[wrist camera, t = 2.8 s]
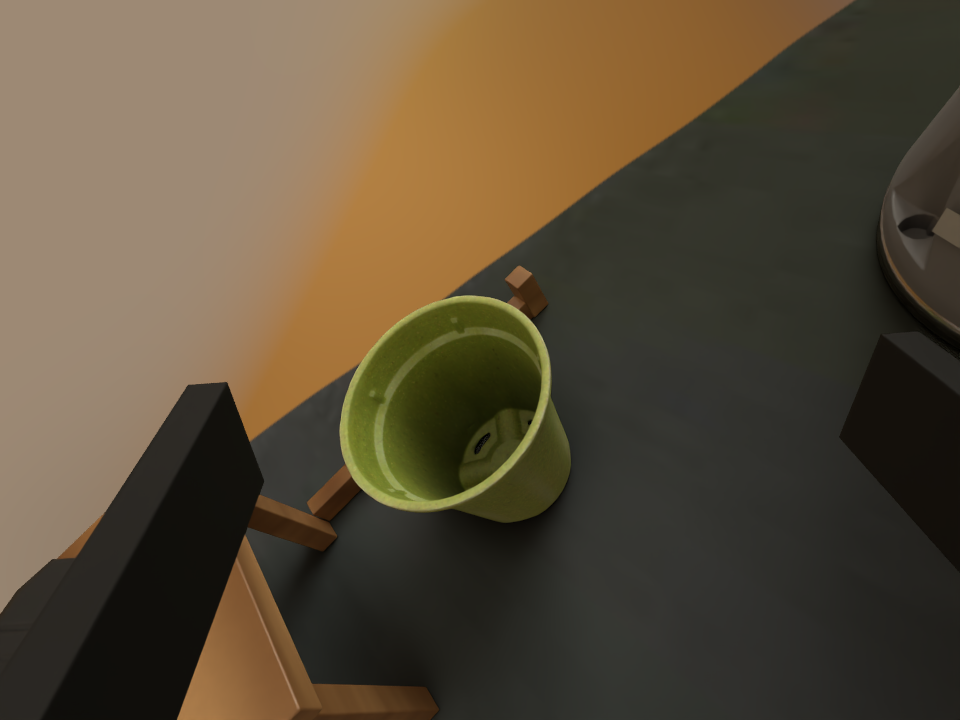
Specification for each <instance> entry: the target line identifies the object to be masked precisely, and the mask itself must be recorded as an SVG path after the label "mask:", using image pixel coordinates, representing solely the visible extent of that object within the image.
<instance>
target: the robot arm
mask: <svg viewBox="0 0 960 720" xmlns="http://www.w3.org/2000/svg"><path fill="white" fill-rule="evenodd" d="M876 242H877V252H878V257H879V261H880V265H881V268H882V270H883V273H884V275H885V278H886V280H887V281H888V283H889V285H890V287H891V288H892V290H893V292H894V293H895V295H896V296H897V297H898V299H899V300H900V301H901V303H902V304H903V305H904V306H905V307H906V308H907V309H908V310H909V312H910V313H911V314H912V315H913V316H914V317H915V318H916V319H918V320H919V321H920V322H921V323H922V324H923V325H924V326H926V327H927V328H928V329H929V330H930V331H932V332H933V333H935V334H936V335H937V336H939V337H940V338H942V339H943V340H944V341H946V342H948V343H949V344H951V345H953V346H954V347H956V348H957V349H959V350H960V87H959V88H958V89H957V90H956V92H955V93H954V94H953V95H952V97H951V98H950V99H949V100H948V102H947V103H946V104H945V106H944V107H943V108H942V109H941V111H940V112H939V113H938V114H937V116H936V117H935V118H934V119H933V121H932V122H931V123H930V124H929V126H928V127H927V128H926V129H925V131H924V132H923V133H922V134H921V136H920V137H919V138H918V139H917V141H916V142H915V143H914V144H913V146H912V147H911V148H910V149H909V151H908V152H907V153H906V155H905V156H904V158H903V159H902V161H901V163H900V164H899V166H898V168H897V170H896V172H895V174H894V176H893V178H892V180H891V182H890V184H889V186H888V189H887V191H886V194H885V197H884V200H883V204H882V208H881V213H880V217H879V222H878V227H877V240H876ZM839 438H840V439H841V440H842V441H843V442H844V443H845V444H846V445H847V447H848V448H849V449H850V450H851V451H852V452H853V453H854V454H855V456H856V457H857V458H858V459H859V460H860V461H861V462H862V463H863V465H864V466H865V467H866V468H867V469H868V470H869V471H870V472H871V474H872V475H873V476H874V477H875V478H876V479H877V480H878V481H879V483H880V484H881V485H882V486H883V487H884V488H885V489H886V490H887V492H888V493H889V494H890V495H891V496H892V497H893V498H894V499H895V501H896V502H897V503H898V504H899V505H900V506H901V507H902V508H903V509H904V511H905V512H906V513H907V514H908V515H909V516H910V517H911V518H912V520H913V521H914V522H915V523H916V524H917V525H918V526H919V527H920V529H921V530H922V531H923V532H924V533H925V534H926V535H927V536H928V538H929V539H930V540H931V541H932V542H933V543H934V544H935V545H936V547H937V548H938V549H939V550H940V551H941V552H942V553H943V554H944V556H945V557H946V558H947V559H948V560H949V561H950V562H951V563H952V565H953V566H954V567H955V568H956V569H957V570H958V571H959V572H960V361H959V360H958V359H956V358H955V357H954V356H952V355H951V354H949V353H948V352H947V351H945V350H944V349H942V348H941V347H940V346H938V345H937V344H935V343H934V342H933V341H931V340H930V339H928V338H927V337H926V336H924V335H923V334H921V333H920V332H919V331H916V332H903V333H889V334H881V335H880V338H879V340H878V343H877V345H876V348H875V350H874V353H873V355H872V358H871V360H870V362H869V365H868V367H867V370H866V372H865V375H864V377H863V380H862V382H861V385H860V387H859V389H858V392H857V394H856V397H855V399H854V402H853V404H852V407H851V409H850V411H849V414H848V416H847V419H846V421H845V424H844V426H843V429H842V431H841V434H840V436H839ZM263 483H264V479H263V477H262V474H261V471H260V469H259V466H258V463H257V461H256V458H255V455H254V453H253V450H252V447H251V445H250V442H249V439H248V437H247V434H246V431H245V429H244V426H243V423H242V421H241V418H240V415H239V413H238V410H237V407H236V405H235V402H234V399H233V397H232V394H231V392H230V389H229V386H228V383H227V382H223V383H209V384H196V385H188V386H187V387H186V389H185V391H184V392H183V394H182V395H181V397H180V398H179V400H178V401H177V403H176V404H175V406H174V407H173V409H172V411H171V412H170V414H169V415H168V417H167V418H166V420H165V421H164V423H163V424H162V426H161V428H160V429H159V431H158V432H157V434H156V435H155V437H154V438H153V440H152V441H151V443H150V445H149V446H148V447H147V449H146V451H145V452H144V454H143V455H142V457H141V458H140V460H139V461H138V463H137V464H136V466H135V468H134V469H133V471H132V472H131V474H130V475H129V477H128V478H127V480H126V481H125V483H124V485H123V486H122V487H121V489H120V491H119V492H118V494H117V495H116V497H115V498H114V500H113V501H112V503H111V504H110V506H109V507H108V509H107V511H106V512H105V514H104V515H103V517H102V518H101V520H100V521H99V523H98V524H97V526H96V527H95V529H94V531H93V532H92V534H91V535H90V537H89V538H88V540H87V541H86V543H85V544H84V546H83V547H82V549H81V551H80V552H79V554H78V555H77V557H76V558H64V559H52V560H51V561H50V562H49V563H48V564H46V565H45V566H44V567H43V568H42V569H41V570H40V571H39V572H37V573H36V574H35V575H34V576H33V577H32V578H31V579H30V580H28V581H27V582H26V583H25V584H24V585H23V586H22V587H21V588H20V589H18V590H17V592H16V593H15V594H14V596H13V597H12V599H11V600H10V602H9V603H8V604H7V606H6V607H5V608H4V610H3V611H2V613H1V614H0V720H177V718H178V716H179V713H180V710H181V708H182V705H183V702H184V699H185V697H186V694H187V691H188V688H189V686H190V683H191V680H192V677H193V675H194V672H195V669H196V667H197V664H198V661H199V658H200V656H201V653H202V650H203V647H204V645H205V642H206V639H207V636H208V634H209V631H210V628H211V626H212V623H213V620H214V617H215V615H216V612H217V609H218V606H219V604H220V601H221V598H222V595H223V593H224V590H225V587H226V584H227V582H228V579H229V576H230V574H231V571H232V568H233V565H234V563H235V560H236V557H237V554H238V552H239V549H240V546H241V543H242V541H243V538H244V535H245V533H246V530H247V527H248V524H249V522H250V519H251V516H252V513H253V511H254V508H255V505H256V502H257V500H258V497H259V494H260V492H261V489H262V486H263Z"/></svg>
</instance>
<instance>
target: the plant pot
mask: <svg viewBox="0 0 960 720" xmlns="http://www.w3.org/2000/svg"><path fill="white" fill-rule="evenodd" d="M551 385H552V374H551V364H550V359H549V355H548V351H547V348H546V345H545V343H544V341H543V339H542V337H541V335H540V333H539V331H538V329H537V328H536V327H535V325H534V324H533V323H532V322H531V320H530V319H529V318H528V317H527V316H526V315H525V314H523V313H522V312H521V311H519V310H518V309H517V308H515V307H513V306H511V305H509V304H507V303H504V302H502V301H500V300H497V299H493V298H489V297H479V296H457V297H453V298H449V299H444V300H441V301H437V302H434V303H431V304H429V305H427V306H425V307H422V308H420V309H418V310H416V311H415V312H413V313H411V314H410V315H408V316H406V317H405V318H404V319H402V320H401V321H399V322H398V323H397V324H395V326H393V327H392V328H391V329H390V330H388V331H387V332H386V333H385V334H384V335H383V336H382V337H381V338H380V339H379V341H377V343H376V344H375V345H374V346H373V348H372V349H371V350H370V351H369V352H368V354H367V355H366V356H365V358H364V359H363V361H362V362H361V364H360V365H359V367H358V369H357V370H356V372H355V374H354V376H353V378H352V381H351V383H350V385H349V389H348V391H347V394H346V397H345V401H344V404H343V408H342V414H341V423H340V443H341V449H342V454H343V458H344V460H345V463H346V466H347V468H348V470H349V472H350V474H351V476H352V478H353V479H354V480H355V482H356V483H357V484H358V486H359V487H360V488H361V489H362V490H363V491H365V492H366V493H367V494H368V495H369V496H371V497H372V498H373V499H375V500H376V501H378V502H380V503H382V504H384V505H387V506H389V507H392V508H395V509H399V510H403V511H408V512H437V511H442V510H447V509H455V510H459V511H463V512H466V513H470V514H473V515H476V516H480V517H483V518H487V519H490V520H494V521H497V522H502V523H510V522H516V521H521V520H524V519H528V518H531V517H534V516H537V515H539V514H540V513H542V512H543V511H545V510H546V509H547V508H548V507H549V506H551V505H552V504H553V502H554V501H555V500H556V499H557V498H558V496H559V495H560V494H561V492H562V491H563V489H564V487H565V485H566V482H567V480H568V477H569V473H570V468H571V457H570V447H569V442H568V439H567V437H566V434H565V432H564V429H563V427H562V424H561V422H560V420H559V417H558V415H557V412H556V410H555V407H554V405H553V402H552V400H551V397H550V396H551ZM530 420H533V421H532V423H531V425H528V421H530ZM487 433H490V438H489V439H488V440H487V441H486V442H485V444H484V445H483V446H482V448H481V450H480V452H479V453H478V454H476V455H475V452H474V451H475V448H476V445H477V444H478V442H479V441H480V440H481V438H482V437H483V436H484V435H486V434H487Z"/></svg>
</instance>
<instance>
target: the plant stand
mask: <svg viewBox="0 0 960 720" xmlns="http://www.w3.org/2000/svg"><path fill="white" fill-rule="evenodd" d="M505 281H506V283H507V284H508V286H509V287H510V289H511V291H512V292H513V294H514V295H515V296H514V297H513V298H512V299H511V300H510V301H509V302H508V303H507V304H509V305H511V306H513V307H515V308H517V309H518V310H519V311H521V312H522V313H523V314H525V315H526V316H527V317H528V318H529V319H530V320H531V319H532V318H533V317H536V316H537V315H538V314H539V313H540V312H541V311H542V310H543V309H544V308H545V307H546V306H547V305H548V302H547V300H546V298H545V296H544V294H543V293H542V291H541V289H540V287H539V285H538V284H537V282H536V280H535V278H534V276H533V275H532V273H530V272H529V271H527V270H526V269H524V268H523V267H521V266H518V267H517V268H516V269H515V270H514V271H513V272H512V273H511V274H510V275H509V276H508V277H507V278H506V279H505ZM360 490H361V488H360V487H359V486H358V484H357V483H356V482H355V480H354V479H353V478H352V476H351V474H350V472H349V470H348V468H347V466H346V464H345V465H344V466H343V467H342V468H341V469H340V470H339V471H338V472H337V473H336V474H335V475H334V476H333V477H332V478H331V479H330V480H329V481H328V482H327V483H326V484H325V485H324V486H323V487H322V488H321V489H320V490H319V491H318V492H317V493H316V494H315V495H314V496H313V497H312V498H311V499H310V500H309V501H308V502H307V505H308V506H309V508H310V510H311V512H312V513H313V515H315V516H318V517H320V518H323V519H325V520H328V521H330V520H331V519H332V518H333V517H334V516H335V515H336V514H337V513H338V512H339V511H340V510H341V509H342V508H343V507H344V506H345V505H346V504H347V503H348V502H349V501H350V500H351V499H352V498H353V497H354V496H355V495H356V494H357V493H358V492H359V491H360ZM104 514H105V513H104ZM104 514H103V515H104ZM103 515H102V516H101V517H100V518H99V519H98V520H97V521H96V522H95V523H94V524H93V525H91V526H90V527H89V528H88V529H87V530H86V531H85V532H84V533H83V534H82V535H81V536H80V537H79V538H78V539H77V540H76V541H75V542H74V543H73V544H72V545H71V546H70V547H69V548H68V549H67V550H66V551H65V552H63V553H62V555H60V556H59V557H58V558H57V559H64V558H76V557H77V555H78V554H79V552H80V551H81V549H82V547H83V546H84V544H85V543H86V541H87V540H88V538H89V537H90V535H91V534H92V532H93V531H94V529H95V527H96V526H97V524H98V523H99V521H100V520H101V518H102V517H103ZM315 516H312V515H310V514H307V513H304V512H302V511H299V510H297V509H294V508H292V507H289V506H287V505H284V504H282V503H279V502H277V501H274V500H272V499H269V498H267V497H264V496H262V495H259V497H258V500H257V502H256V505H255V508H254V511H253V513H252V516H251V519H250V522H249V524H248V528H252V529H255V530H258V531H261V532H264V533H267V534H270V535H273V536H276V537H279V538H282V539H285V540H288V541H291V542H295V543H298V544H301V545H304V546H307V547H310V548H313V549H316V550H319V551H324V550H325V549H326V548H327V547H328V546H329V545H330V544H331V543H332V542H333V541H334V540H335V539H336V538H337V535H336V533H335V531H334V530H333V528H332V526H331V525H330V523H329V522H327V521H325V520H322V519H320V518H317V517H315ZM1 613H2V612H1ZM438 711H439V708H438V707H437V705H436V703H435V701H434V700H433V698H432V696H431V695H430V693H429V691H428V690H427V688H426V687H417V686H379V685H341V684H312V683H311V681H310V679H309V676H308V674H307V672H306V670H305V667H304V665H303V663H302V661H301V658H300V656H299V654H298V652H297V650H296V647H295V645H294V643H293V641H292V638H291V636H290V634H289V632H288V629H287V627H286V625H285V623H284V620H283V618H282V616H281V614H280V611H279V609H278V607H277V605H276V603H275V600H274V598H273V596H272V594H271V591H270V589H269V587H268V585H267V582H266V580H265V578H264V576H263V573H262V571H261V569H260V567H259V565H258V562H257V560H256V558H255V556H254V553H253V551H252V549H251V547H250V544H249V542H248V540H247V538H246V535H244V538H243V541H242V543H241V546H240V549H239V552H238V554H237V557H236V560H235V563H234V565H233V568H232V571H231V574H230V576H229V579H228V582H227V584H226V587H225V590H224V593H223V595H222V598H221V601H220V604H219V606H218V609H217V612H216V615H215V617H214V620H213V623H212V626H211V628H210V631H209V634H208V636H207V639H206V642H205V645H204V647H203V650H202V653H201V656H200V658H199V661H198V664H197V667H196V669H195V672H194V675H193V677H192V680H191V683H190V686H189V688H188V691H187V694H186V697H185V699H184V702H183V705H182V708H181V710H180V713H179V716H178V718H177V720H430V719H431V718H432V717H433V716H434V715H435V714H436V713H437V712H438Z"/></svg>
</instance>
